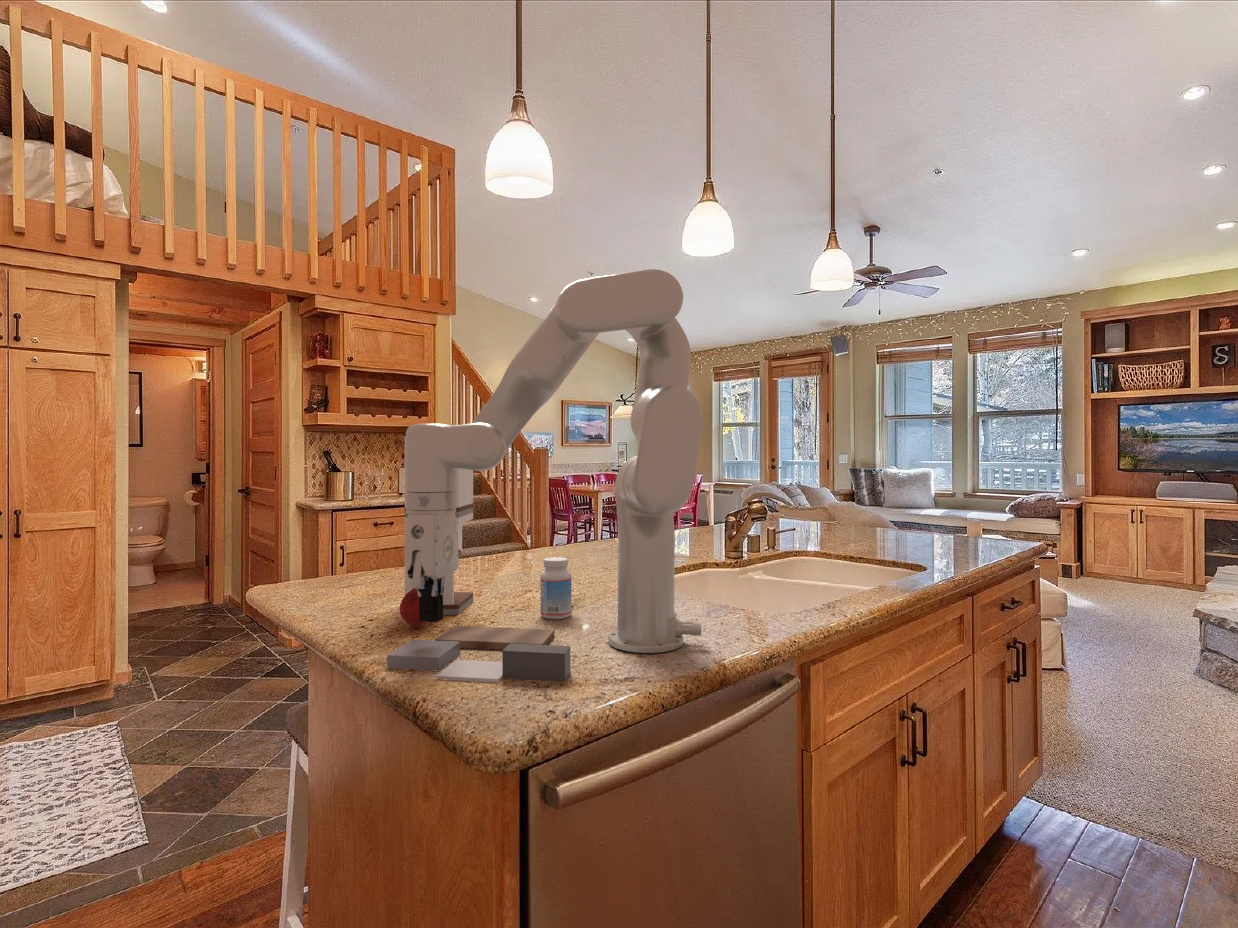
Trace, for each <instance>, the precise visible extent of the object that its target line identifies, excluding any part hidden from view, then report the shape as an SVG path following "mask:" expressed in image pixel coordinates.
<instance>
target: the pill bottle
mask: <svg viewBox="0 0 1238 928" xmlns="http://www.w3.org/2000/svg"><path fill="white" fill-rule="evenodd" d="M568 560H569V559H568V558H566V557H563V556H562V557H561V556H559V557H554V556H553V557H545V558H544V559H543V568H545V569H544V570H542V571H541V573H540V579H539V581H540V582H539V583H540V585H539V586H540V590H539V591H540V592H539V593H540V604H539V605H540V616H541V618H543V619H546V620H563V619H567V618H569V617H571V616H572V612H573V611H572V609H573V608H572V605H573V602H572V601H573V600H572V597H573V595H572V572H570V570H568V569H567V567H568V565H569V563H568V562H569V561H568Z"/></svg>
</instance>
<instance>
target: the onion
mask: <svg viewBox="0 0 1238 928" xmlns="http://www.w3.org/2000/svg"><path fill="white" fill-rule="evenodd" d="M399 612H400V616H401V618H402V620H403V621H405V623H407V624H408V625H410V627H413V628H415V629H419V628H421V626H423V624H425V622H421V621H420V620H419V596H418V589H412V590H411V591H409V592H408V593H407V594H406V595H405V594H404V596H403V598H402V599H401V602H400V604H399Z"/></svg>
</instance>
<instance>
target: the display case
mask: <svg viewBox="0 0 1238 928" xmlns="http://www.w3.org/2000/svg"><path fill="white" fill-rule="evenodd" d="M455 516H456V523H457V533H458V554H459V558H461V557H462V555H463V524H464V523H467V522H469V521H472V520H474V470H469V469H461V468H456V512H455ZM407 520H408V514H407V513H406V436H404V544H405V543H406V529H407ZM424 576H426V574H424ZM412 580H413V579H410V578H408V577H407V576H406V571H405V570H404V596H405V595H406V594H407V593H408V592H409V591H411V590H412V589H413V588H412ZM473 602H474V591H464V592H463V591H455V571H454V572H452V573H450V574H448V576H447V577H446V578H445V583H444V592H443V616H459V615H461V614H462V613H463V612H462V611H463V610H464V609H465V608H466V607H467V606H468V605H469V604H470V603H471V604H473ZM471 604H470V605H471ZM470 605H469V606H470ZM469 606H468V607H469ZM468 607H467V608H468ZM467 608H466V609H467ZM466 609H465V610H466ZM465 610H464V611H465Z"/></svg>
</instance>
